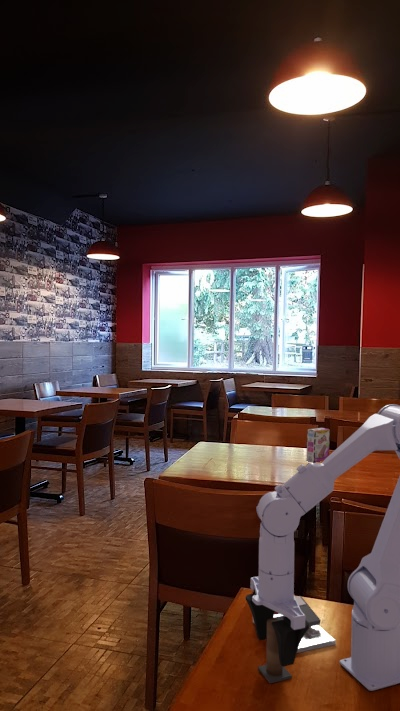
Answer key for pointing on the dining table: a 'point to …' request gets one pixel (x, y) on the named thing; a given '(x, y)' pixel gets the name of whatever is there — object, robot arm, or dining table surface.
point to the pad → (273, 679)
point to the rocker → (308, 612)
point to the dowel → (272, 651)
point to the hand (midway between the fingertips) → (275, 650)
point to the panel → (312, 637)
